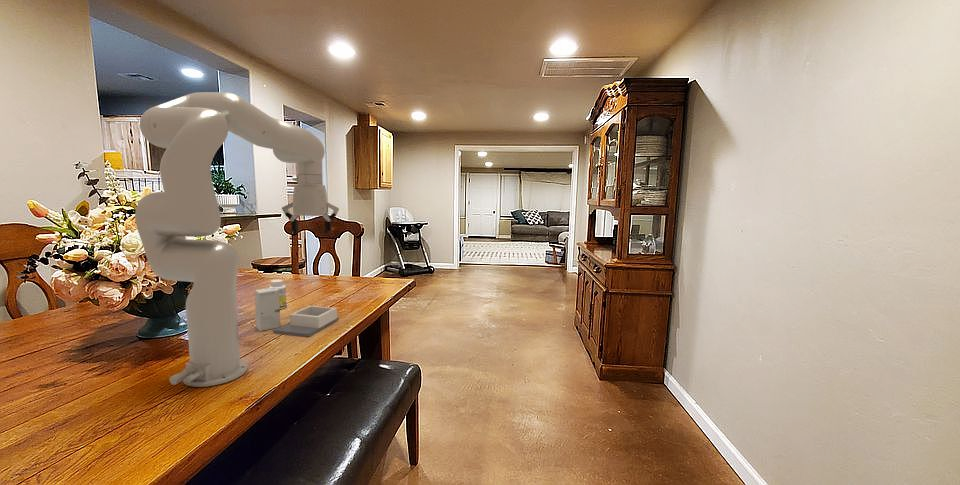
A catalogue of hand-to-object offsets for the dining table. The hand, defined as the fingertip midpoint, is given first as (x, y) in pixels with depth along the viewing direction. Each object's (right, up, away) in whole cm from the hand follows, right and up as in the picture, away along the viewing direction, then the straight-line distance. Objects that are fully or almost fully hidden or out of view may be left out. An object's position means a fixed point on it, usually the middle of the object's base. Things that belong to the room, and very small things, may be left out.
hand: (311, 233), depth 129 cm
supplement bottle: (-18, -27, +14) cm, 36 cm away
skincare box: (-11, -30, -6) cm, 32 cm away
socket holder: (0, -30, -4) cm, 30 cm away
